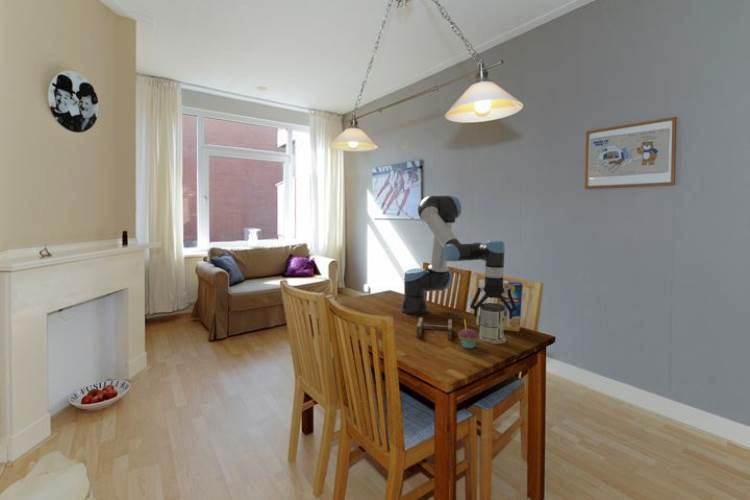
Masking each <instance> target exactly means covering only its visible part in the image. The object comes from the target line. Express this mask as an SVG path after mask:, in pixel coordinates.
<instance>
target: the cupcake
mask: <svg viewBox="0 0 750 500" xmlns="http://www.w3.org/2000/svg"><path fill="white" fill-rule="evenodd" d="M463 323H464V329H462V330H460V331H458V334H457V335H458V339H460V341H461V345H462V347H463V348H465V349H473V348H475V345H476V343H477V341H480V340H479V339H480V337H479V334H480V332H479V333H478V332H477V331H476V330H475V329H472V328H468V327H467V321H466V319H465V317H463Z"/></svg>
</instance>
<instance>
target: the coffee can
mask: <svg viewBox="0 0 750 500" xmlns="http://www.w3.org/2000/svg"><path fill="white" fill-rule="evenodd" d="M479 308H480V309H479V334H480V335H479V337H480V338H482V339H484V340H488V341H501V340H503V336H504V331H505V330H504V309H505V307H504V306H503V305H500V304H497V302H496V303H494V302H483V303H482V305H481V306H480V307H479Z"/></svg>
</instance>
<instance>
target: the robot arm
mask: <svg viewBox="0 0 750 500" xmlns="http://www.w3.org/2000/svg"><path fill="white" fill-rule="evenodd" d="M417 214H418V216H419V218H420V219H421V221H422V222H423V223H426V224H427V227H428V228H429V229H430V231H431V232H432V234H433V235H434V236H433V244H432V246H433V247H432V253H431V263H430V264H429V265H428V266H427V270H426V269H425V268H423V267H418V268H417V267H416V268H411V269H407V270H406V271H405V272H404V279H403V280H404V282H403V284H404V285H403V286H404V291H403V292H404V297H403V299H402V303H401V306H400V310H401V312H403V313H405V314H408V315H409V314H411V315H421V314H425V313H426V314H427V313H428V312H429V307H428V302H427V299H426V292H438V291H440V292H441V291H445V290H448V289H449V288H450V287H451V284H452V280H453V277H452V273H451V271H450V269H449V267H448V266H447V265H448V262H454V263H455V262H462V261H463V262H464V261H483V262H485V264H484V265H485V266H484V267H485V269H484V270H485V272H484V275H485V277H484V287H480V286H477V288H476V293H475V295H474V297H473V299H472V301H471V303H470V305H469V306H470V309H472V310H474V311H473V316H474V318H476V322H475V323H476V326H480V309H479V308H480V306H481V305H482V304H483V303H485V302H486V300H487V299H488V298H490V299H497V298H498V297H499V298H500V299H501V300H502V302H503V303H504V304H505V306H506V307H507V309H508V310H509V311H507V317H506V326H507V327H509V319H512V312H513V311H516V310H517V308H516V306H515V303H514V301H513V298H512V296H511V290H510V288H507V289H504V288H503V281H504V277H503V276H504V274H505V273H504V269H505V267H504V266H505V252H506V250H505V242H504V241H503V240H496V239H494V240H493V239H492V240H487V241H486V243H482V242H472V243H461V242H460V240H458V238H457V237H456V235H455V234H454V232H453V231H452V225H454V224H455V223H456V219H457V218H459V217H461V215H462V204H461V201H460V200H459V197H456V196H453V195H428V196H425V197H423V199H422V200H420V202H419V204H418V207H417ZM504 291H505V292H506V294H508V297H509V300H510V302H511V305H512V308H511V307H510V306H509V305H508V303H507V302H506V301H505V299H504V298H503V296H502V295H501V294H502V293H503V292H504ZM482 292H484V295H483V296H481V298H480V299H479V301H477V300H478V298H479V296H480V295H481V294H480V293H482ZM476 302H477V303H476Z"/></svg>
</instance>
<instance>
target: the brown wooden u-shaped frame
mask: <svg viewBox="0 0 750 500" xmlns="http://www.w3.org/2000/svg"><path fill="white" fill-rule="evenodd" d="M423 329H427V330H439V331H440V330H441V331H447V340H448V341H452V337H453V336H452V334H453V333H452V329H453V319H452V318H451V319H450V318H448V322H447V325H439V324H438V325H436V324H424V317H422V316H421V317H419V318H418V322H417V324H416V338H418V339H419V338H421V336H422V333H423Z"/></svg>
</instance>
